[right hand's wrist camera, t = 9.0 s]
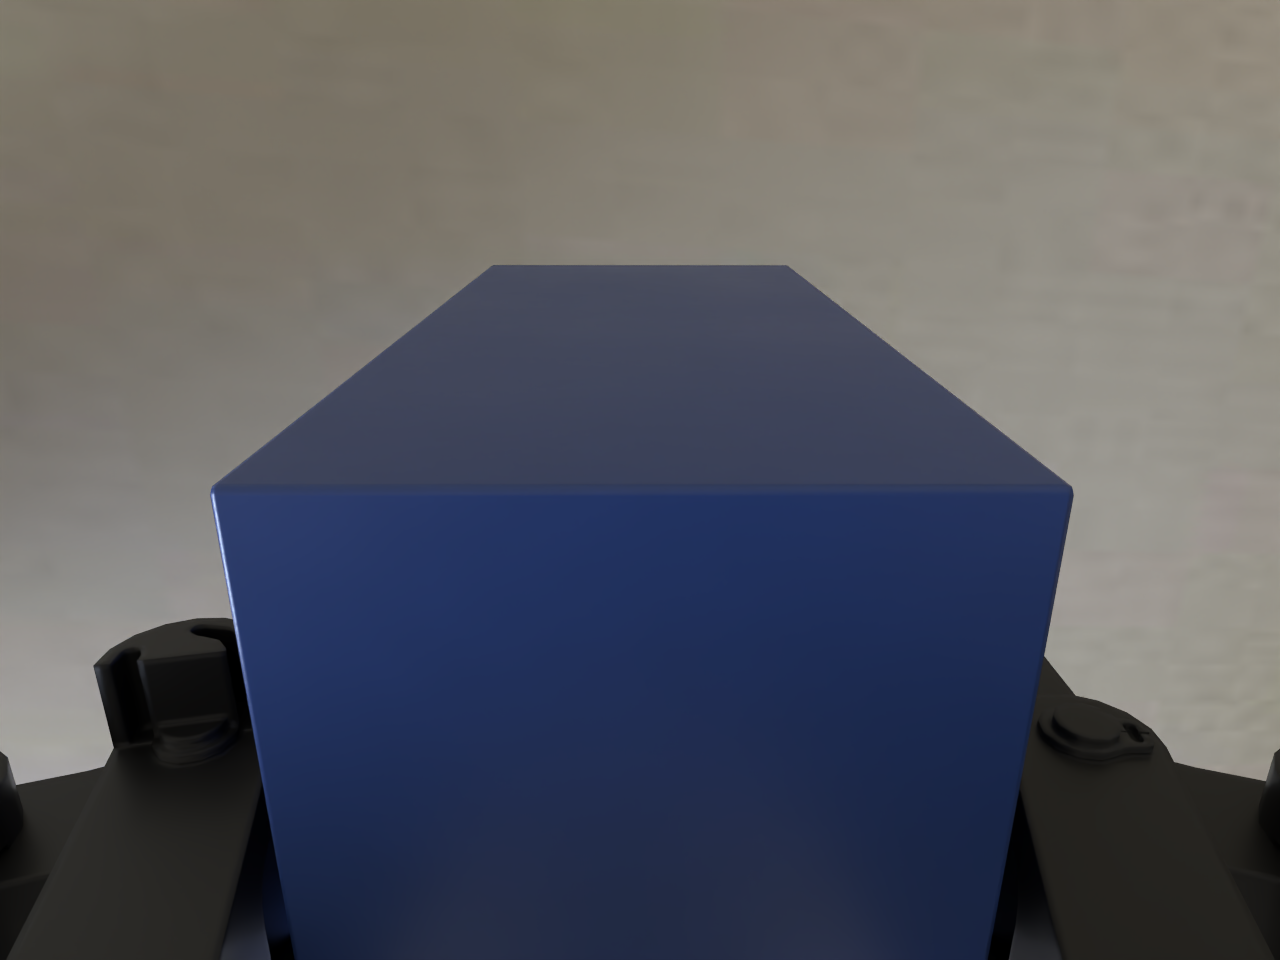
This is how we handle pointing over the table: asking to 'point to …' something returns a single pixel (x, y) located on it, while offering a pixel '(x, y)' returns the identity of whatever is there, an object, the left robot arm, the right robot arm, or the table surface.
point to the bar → (641, 632)
